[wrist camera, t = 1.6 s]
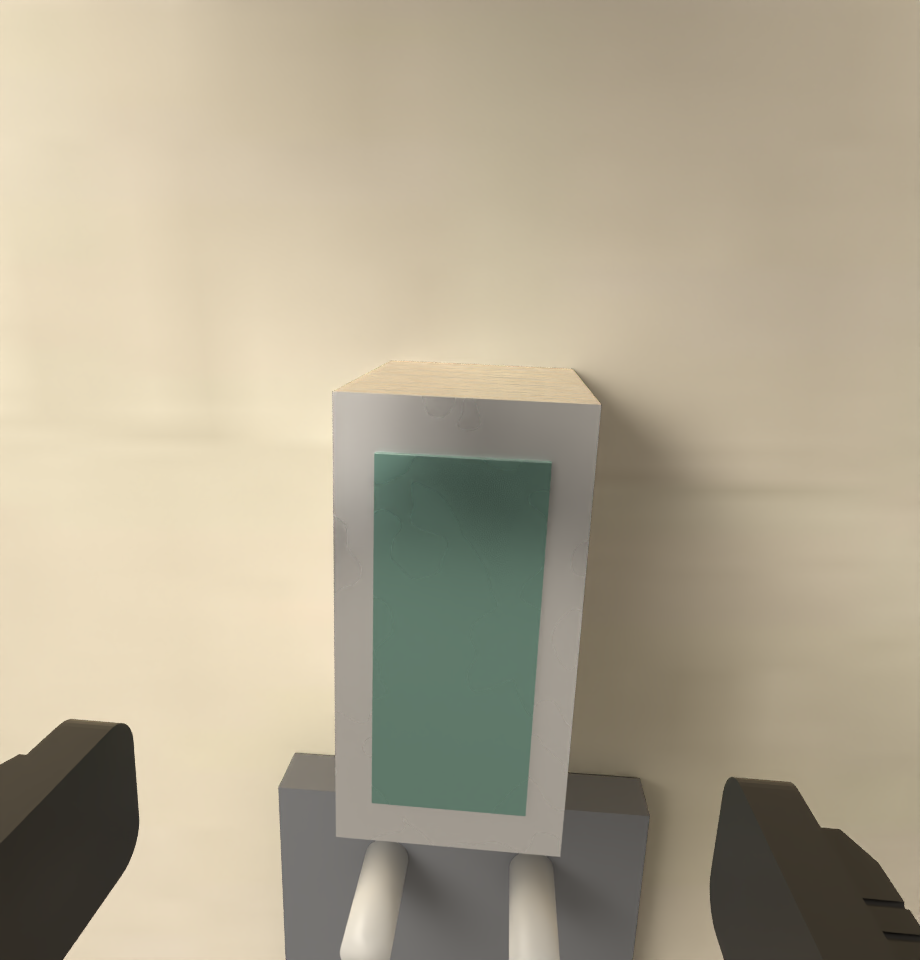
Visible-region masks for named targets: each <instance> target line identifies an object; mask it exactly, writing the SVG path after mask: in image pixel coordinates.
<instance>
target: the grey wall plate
mask: <svg viewBox="0 0 920 960" xmlns="http://www.w3.org/2000/svg"><path fill="white" fill-rule="evenodd" d="M278 789H279V813H280V837H281V860H282V884H283V907H284V931H285V954H286V960H633V952H634V944H635V935H636V927H637V919H638V910H639V902H640V893H641V885H642V876H643V868H644V859H645V851H646V843H647V834H648V826H649V817H650V816H649V812H648V808H647V804H646V800H645V797H644V793H643V789H642V785H641V781H640V778H627V777H613V776H600V775H586V774H573V773H568V777H567V788H566V799H565V810H564V821H563V832H562V843H561V854H560V857H556V856H545V855H534V854H523V853H511V852H500V851H489V850H478V849H467V848H455V847H444V846H433V845H422V844H410V843H399V842H388V841H377V840H366V839H354V838H343V837H336V784H335V756H330V755H316V754H302V753H295V754H294V756H293V758H292V760H291V762H290V764H289V766H288V768H287V771H286V773H285V775H284V777H283V779H282V781H281V783H280V785H279V787H278Z"/></svg>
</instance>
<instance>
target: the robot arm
mask: <svg viewBox="0 0 920 960" xmlns="http://www.w3.org/2000/svg"><path fill="white" fill-rule="evenodd" d="M138 830H139V810H138V796H137V783H136V769H135V756H134V742H133V735H132V732H131V730H130V728H129V727H128V725H126V724H123V723H111V722H100V721H88V720H76V719H69V720H66V721H64V722H63V723H61V724H60V725H59V726H58V727H57V728H55V729H54V730H53V731H52V732H51V733H50V734H49V735H48V736H47V737H46V738H44V739H43V740H42V741H41V742H40V743H39V744H38V745H37V746H36V747H35V748H33V749H32V750H31V751H30V752H29V753H28V754H27V755H21V754H19V755H17V756H15V757H14V758H12V759H10V760H8V761H6V762H4V763H2V764H1V765H0V960H63V959H64V957H65V956H66V955H67V953H68V952H69V950H70V949H71V947H72V946H73V944H74V943H75V942H76V940H77V939H78V937H79V936H80V934H81V933H82V932H83V930H84V929H85V927H86V926H87V924H88V923H89V921H90V920H91V919H92V917H93V916H94V914H95V913H96V911H97V910H98V909H99V907H100V906H101V904H102V903H103V901H104V900H105V898H106V897H107V896H108V894H109V893H110V891H111V890H112V888H113V887H114V886H115V884H116V883H117V881H118V880H119V878H120V877H121V876H122V874H123V872H124V871H125V869H126V867H127V865H128V864H129V861H130V859H131V857H132V854H133V851H134V848H135V845H136V841H137V836H138ZM710 904H711V913H712V919H713V924H714V929H715V932H716V936H717V939H718V942H719V945H720V948H721V951H722V954H723V958H724V960H920V925H919V924H918V922H917V921H916V919H915V918H914V916H913V915H912V913H911V912H910V910H906V909H905V907H904V901H903V899H902V898H901V896H900V895H899V893H898V892H897V890H896V889H895V887H894V886H893V884H892V883H891V881H890V880H889V878H888V877H887V875H886V874H885V872H884V871H883V869H882V868H881V866H880V865H879V863H878V862H877V861H876V860H874V859H873V858H872V857H871V856H870V855H869V854H868V853H866V852H865V851H864V850H863V849H862V848H861V847H860V846H858V845H857V844H856V843H855V842H854V841H853V840H852V839H850V838H849V837H848V836H847V835H846V834H845V833H843V832H842V831H841V830H840V829H830V828H820V826H819V824H818V823H817V821H816V819H815V817H814V816H813V814H812V812H811V811H810V809H809V807H808V806H807V804H806V802H805V801H804V799H803V797H802V796H801V794H800V792H799V791H798V789H797V788H796V786H795V785H794V784H792V783H791V782H782V781H771V780H759V779H747V778H735V777H730V778H729V779H728V780H727V782H726V784H725V787H724V791H723V797H722V803H721V810H720V816H719V823H718V829H717V836H716V842H715V849H714V855H713V862H712V868H711V876H710Z"/></svg>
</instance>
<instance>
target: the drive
mask: <svg viewBox="0 0 920 960" xmlns="http://www.w3.org/2000/svg"><path fill="white" fill-rule="evenodd" d="M332 402H333V529H334V657H335V784H336V837H343V838H354V839H366V840H377V841H388V842H399V843H410V844H422V845H433V846H444V847H455V848H467V849H478V850H489V851H500V852H511V853H523V854H534V855H545V856H556V857H560V854H561V843H562V832H563V821H564V810H565V799H566V788H567V777H568V766H569V755H570V744H571V733H572V722H573V711H574V700H575V689H576V678H577V668H578V657H579V646H580V635H581V624H582V613H583V602H584V591H585V580H586V569H587V558H588V547H589V536H590V525H591V514H592V503H593V492H594V481H595V470H596V459H597V448H598V438H599V427H600V416H601V404H600V402H599V401H598V400H597V399H596V397H595V396H594V395H593V394H592V392H591V391H590V390H589V389H588V387H587V386H586V385H585V384H584V382H583V381H582V380H581V379H580V377H579V376H578V375H577V374H576V372H575V371H574V370H573V369H567V368H545V367H524V366H502V365H480V364H459V363H437V362H416V361H394V360H391V361H389V362H387V363H385V364H383V365H382V366H380V367H378V368H376V369H374V370H372V371H370V372H368V373H366V374H365V375H363V376H361V377H359V378H357V379H355V380H353V381H351V382H349V383H348V384H346V385H344V386H342V387H340V388H338V389H336V390H334V391H332Z"/></svg>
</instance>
